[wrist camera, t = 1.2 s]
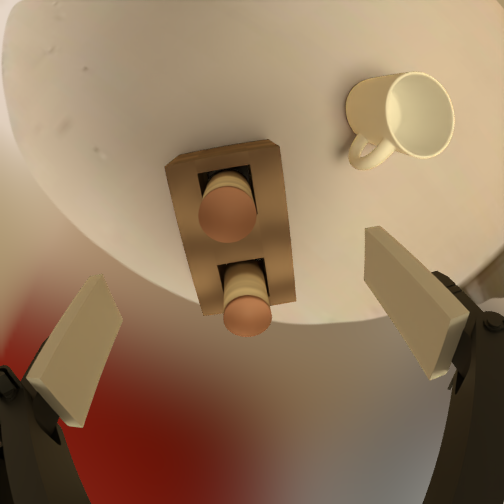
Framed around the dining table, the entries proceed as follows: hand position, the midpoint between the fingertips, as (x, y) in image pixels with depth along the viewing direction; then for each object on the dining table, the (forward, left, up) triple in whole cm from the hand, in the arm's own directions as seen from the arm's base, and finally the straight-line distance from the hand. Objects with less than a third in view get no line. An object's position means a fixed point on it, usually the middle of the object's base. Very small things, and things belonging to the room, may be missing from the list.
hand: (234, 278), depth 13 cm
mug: (-5, +17, -22) cm, 28 cm away
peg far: (+9, 0, -16) cm, 18 cm away
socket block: (+4, 0, -22) cm, 23 cm away
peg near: (0, 0, -16) cm, 16 cm away
